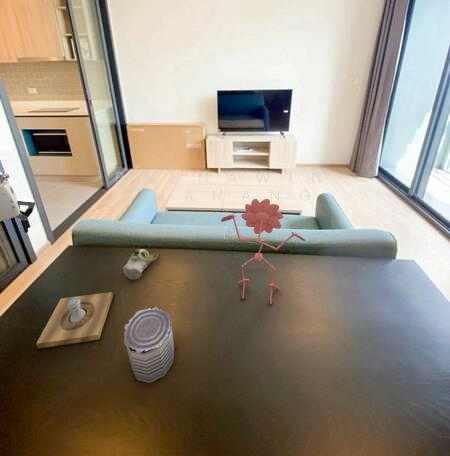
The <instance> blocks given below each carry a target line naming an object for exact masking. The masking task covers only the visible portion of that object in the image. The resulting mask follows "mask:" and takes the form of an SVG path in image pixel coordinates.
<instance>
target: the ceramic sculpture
mask: <svg viewBox="0 0 450 456" xmlns="http://www.w3.org/2000/svg"><path fill="white" fill-rule="evenodd" d="M160 254H161V252H157V253H152V254H150V253H149V251H148V250H147V249H145V248H137V249H136V250H135V251H134V252H133V253H131V255H130V256H129V259H128V261H127V263H126V264H125V265H124V266H123V267H122V272H123V275H124V276H125V277H126V278H128V279H129V280H131V281H134V280H139V279H140V278H141V277H142V274H143V271H144V270H145V269H146V268H147V267H148V266H150V265H152V264H154V263H156V261H158V259H159V258H160Z"/></svg>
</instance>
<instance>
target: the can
mask: <svg viewBox="0 0 450 456" xmlns="http://www.w3.org/2000/svg"><path fill="white" fill-rule="evenodd" d="M170 314H171V313H170V312H167V311H166V310H163V309H161V308H159V307H158V306H153V307H149V308H145V309H141V310H138V311H136V312H135V314H134V315H133V316H132V317H131V318H130V319H129V320H128V321H127V322H126V324H125V325H124V332H123V333H124V334H123V344H124V345H125V346H126V351H127V355H128V359H129V364H130V368H131V370H132V372H133V374H134V376H135V378H136V380H138V381H141V382H145V383H149V384H151V383H153V382H155V381H157V380H158V379H161V378H163V377H165V375H166V374H167V372H168V371H169V370H170V368H171V366H172V365H173V364H174V358H175V342H174V333H173V327H172V319H171V315H170Z"/></svg>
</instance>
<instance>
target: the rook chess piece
mask: <svg viewBox="0 0 450 456" xmlns="http://www.w3.org/2000/svg"><path fill="white" fill-rule="evenodd" d="M73 297H74V299H73V298H72V299H71V301H69V303H68V306H67V307H68V308H70V311H71V317H70V323H72V324H73V323H77V322H80V321H81V320H82V319H84V317H85V316H86V314H87V313H86V312H85V310H83V309H81V307H80V299H78V298H76V297H77V296H73Z"/></svg>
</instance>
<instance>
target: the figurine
mask: <svg viewBox="0 0 450 456" xmlns="http://www.w3.org/2000/svg"><path fill="white" fill-rule="evenodd" d="M244 205H245V206H244V209H245V212H243V213H241V215H240V217H241V218H242V219H243V220H244V221H245V226H246V227H247V228H253V232H254V234H256V235H258V236H257V238H241V236H240V232H239V229H238V227H237V222H236V219H235V217H236V215H235V214H234V213H232V214H228V215H225V216H223V217H221V218H220V221H221V222H223V223H224V222H227V221H230V220H232V221H233V224H234V225H233V226H234V228H235V231H236V236H237V238H238V241H239V242H240V241H241V242H242V241H245V242H246V241H252V242H253V241H256V243H260V244H261V245H260V247H259V250H258V252H256V253H255V254H254V256H253V257H252V258H250V259H249V260H247V261H246V262H244V263H243V264H241V268H240V269H238V270H237V272H239V271H240V270H241V272H242V278H243V279H242V280H240V281H238V282H237V285H239V286H240V285H243V286H242V295H241V296H242V297H241V299H245V290H246V288H245V287H246V283H247V282H249V280H250V279H248V278H245V273H244V269H245V266H246V265H247V264H249V263H250V262H251V261H253V260H255V262H257V263H260V262H262V261H264V262H266V263H267V265H269V266H270V267H271V268H272V269H273V270H274V271H273V276H272V282H271V283H267V286H268V287H270V295H269V296H270V298H269V304H270V305H272V304H273V303H272V302H273V291H274V289H275V290H281V287H280V286H277V285H275V284H274V281H275V277H276V271H277V269H276V268H275V267H274V266H273V265H272V264H271V263H269V262H268V260H266V259H265V258H264V255H263V254H262V253H261V252H262V251H261V250H262V248H263V246H264V245H265V246H267V247H269V248H271V249H273V250H275V251H277V250H279V249H280V248H281V247H282V246H284V245H285V244H286V243H287V242H289V241H290V240H291V239H292V238H293V237H296V238H298V239H299V240H301V241H303V242H306V239H305V238H304V237H302V236H301V235H299V234H298V233H296V232H293V231H292V232H291V235H289V236H288V237H287V238H286V239H285V240H284V241H282V242H281V243H280V244H279V245H278V246H277V247H275V246H273V245H271V244H269V243H266V242H265V239H260V238H261V235H262V233H263V232H265V233H266V234H271V233H272V232H273V229H277V230H279V229H281V228H282V223H281V222H280V220H281V219H283V218H284V215H283V214H282V212H280V211H279V209H280V204H279V205H278V204H277V203H271V199H269V198H264V199H262V200H261V201H260V200H258V199H257V198H254V199H252V201H251V202H250V203H246V204H244ZM248 268H251V266H247V269H248ZM256 268H258V269H259V268H260V266H258V265H257V266H255V269H256ZM261 269H264V268H263V267H261ZM267 271H268V272H270V270H268V269H267ZM235 273H236V271H235V272H233V274H235Z"/></svg>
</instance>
